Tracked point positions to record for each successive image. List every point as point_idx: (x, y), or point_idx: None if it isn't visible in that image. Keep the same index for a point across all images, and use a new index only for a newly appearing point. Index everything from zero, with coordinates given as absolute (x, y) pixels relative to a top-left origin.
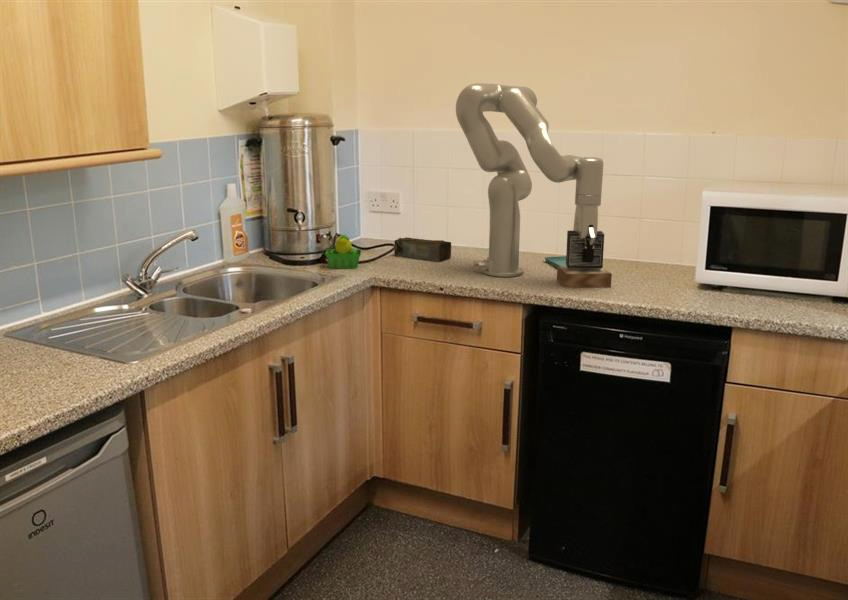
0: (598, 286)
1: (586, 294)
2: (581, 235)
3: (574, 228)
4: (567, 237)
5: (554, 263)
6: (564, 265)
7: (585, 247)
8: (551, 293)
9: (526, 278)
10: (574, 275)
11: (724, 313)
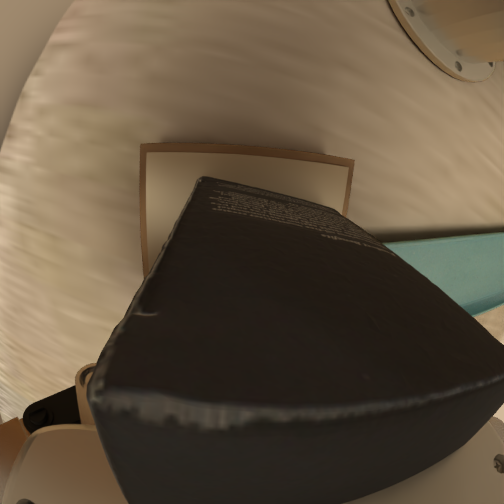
0: None
1: (51, 213)
2: (19, 459)
3: (461, 481)
4: (420, 307)
5: (492, 233)
6: (485, 268)
7: (77, 376)
8: (72, 71)
9: (367, 37)
10: (141, 202)
11: (11, 412)
